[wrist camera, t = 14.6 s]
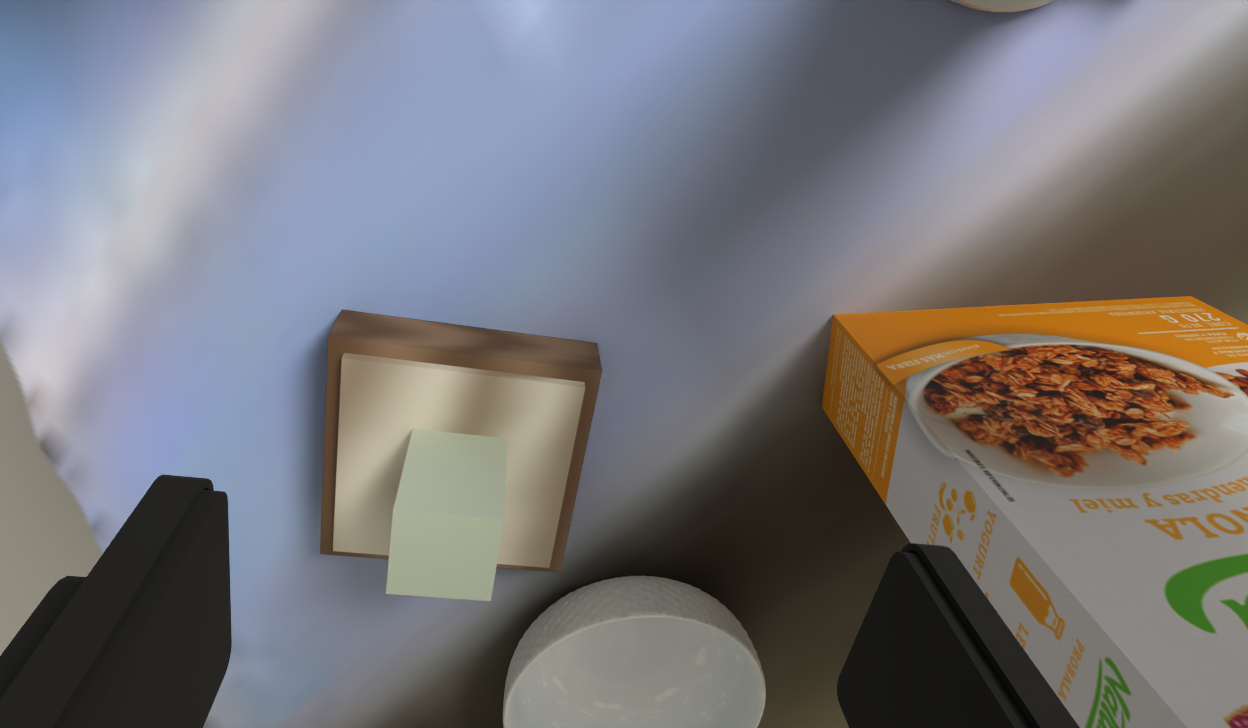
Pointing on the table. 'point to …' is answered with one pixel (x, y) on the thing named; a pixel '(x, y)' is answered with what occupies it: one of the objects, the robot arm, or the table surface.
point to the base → (454, 425)
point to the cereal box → (1074, 485)
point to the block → (448, 516)
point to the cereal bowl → (635, 661)
